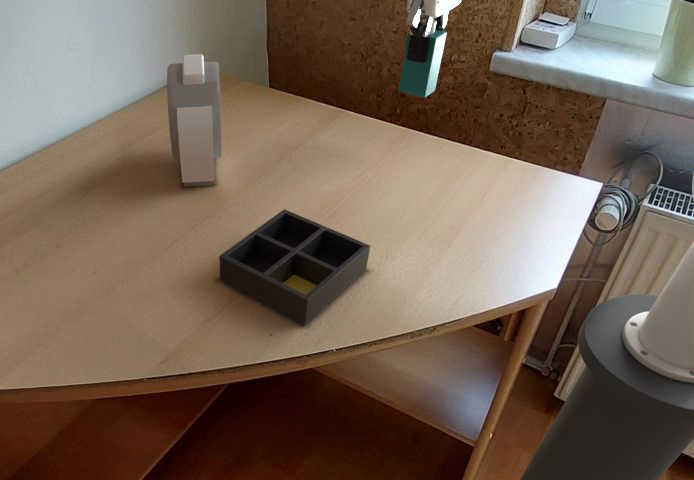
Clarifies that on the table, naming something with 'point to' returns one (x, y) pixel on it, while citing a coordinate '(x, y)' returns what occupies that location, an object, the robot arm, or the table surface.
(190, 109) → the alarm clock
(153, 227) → the table surface
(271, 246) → the tray
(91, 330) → the table surface
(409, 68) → the detergent bottle
